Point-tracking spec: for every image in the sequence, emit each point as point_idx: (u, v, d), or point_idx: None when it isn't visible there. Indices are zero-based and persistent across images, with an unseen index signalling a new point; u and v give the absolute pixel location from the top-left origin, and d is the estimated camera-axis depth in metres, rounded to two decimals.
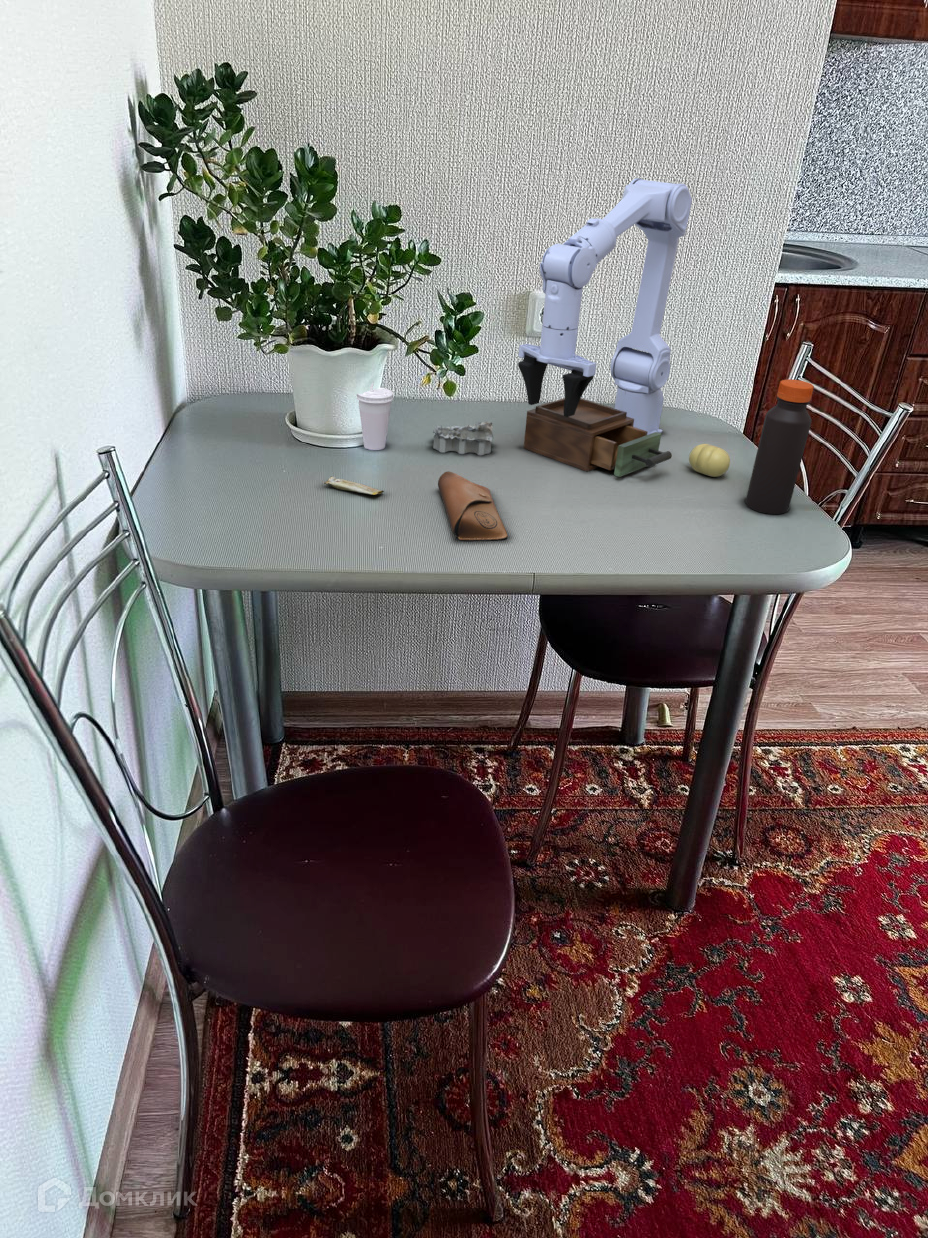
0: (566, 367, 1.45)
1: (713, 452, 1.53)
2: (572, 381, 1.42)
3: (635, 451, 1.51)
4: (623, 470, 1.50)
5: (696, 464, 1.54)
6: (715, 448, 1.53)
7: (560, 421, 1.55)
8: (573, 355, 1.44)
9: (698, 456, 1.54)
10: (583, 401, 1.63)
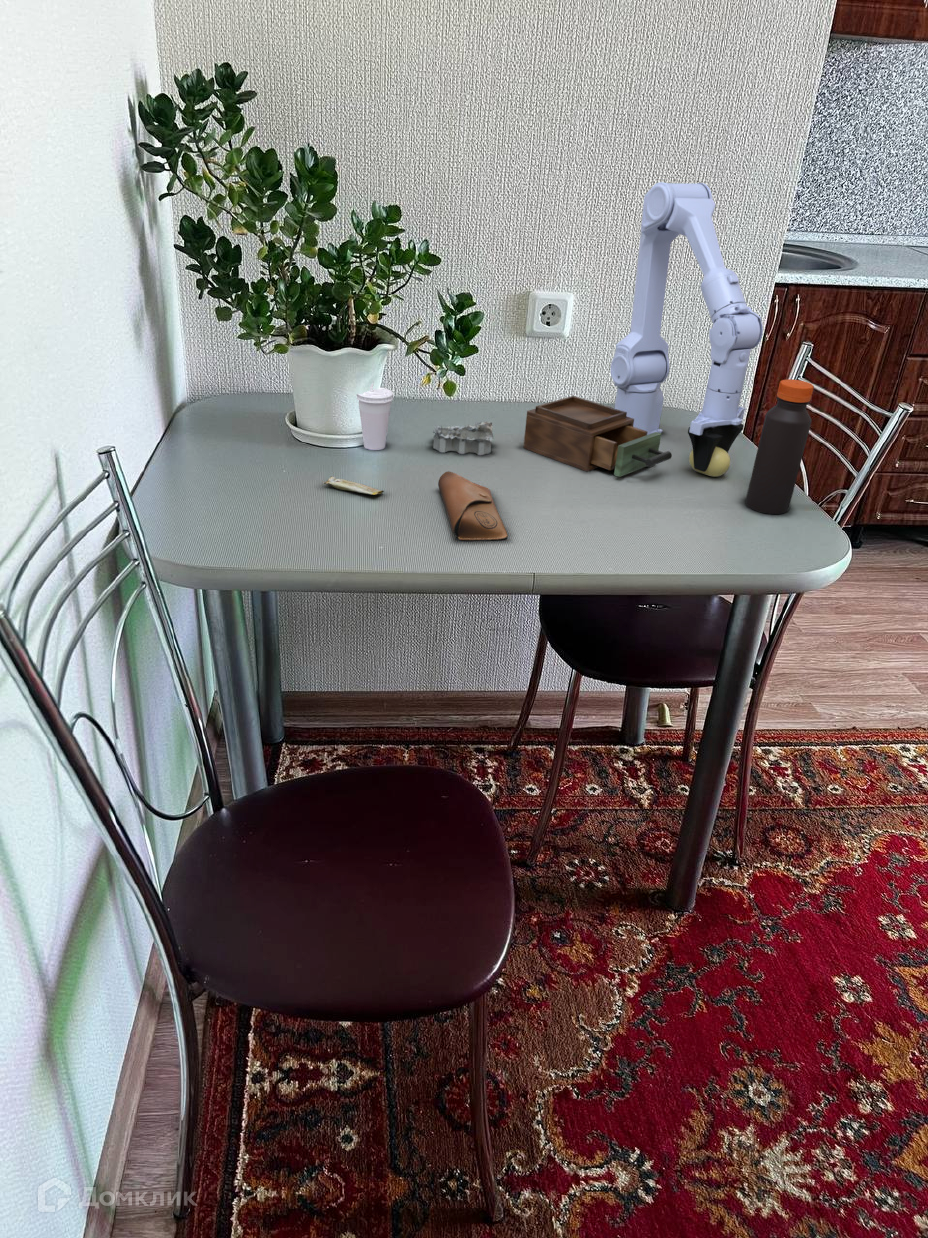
0: None
1: (713, 452, 1.53)
2: None
3: (635, 451, 1.51)
4: (623, 470, 1.50)
5: None
6: (715, 448, 1.53)
7: (560, 421, 1.55)
8: None
9: None
10: (583, 401, 1.63)
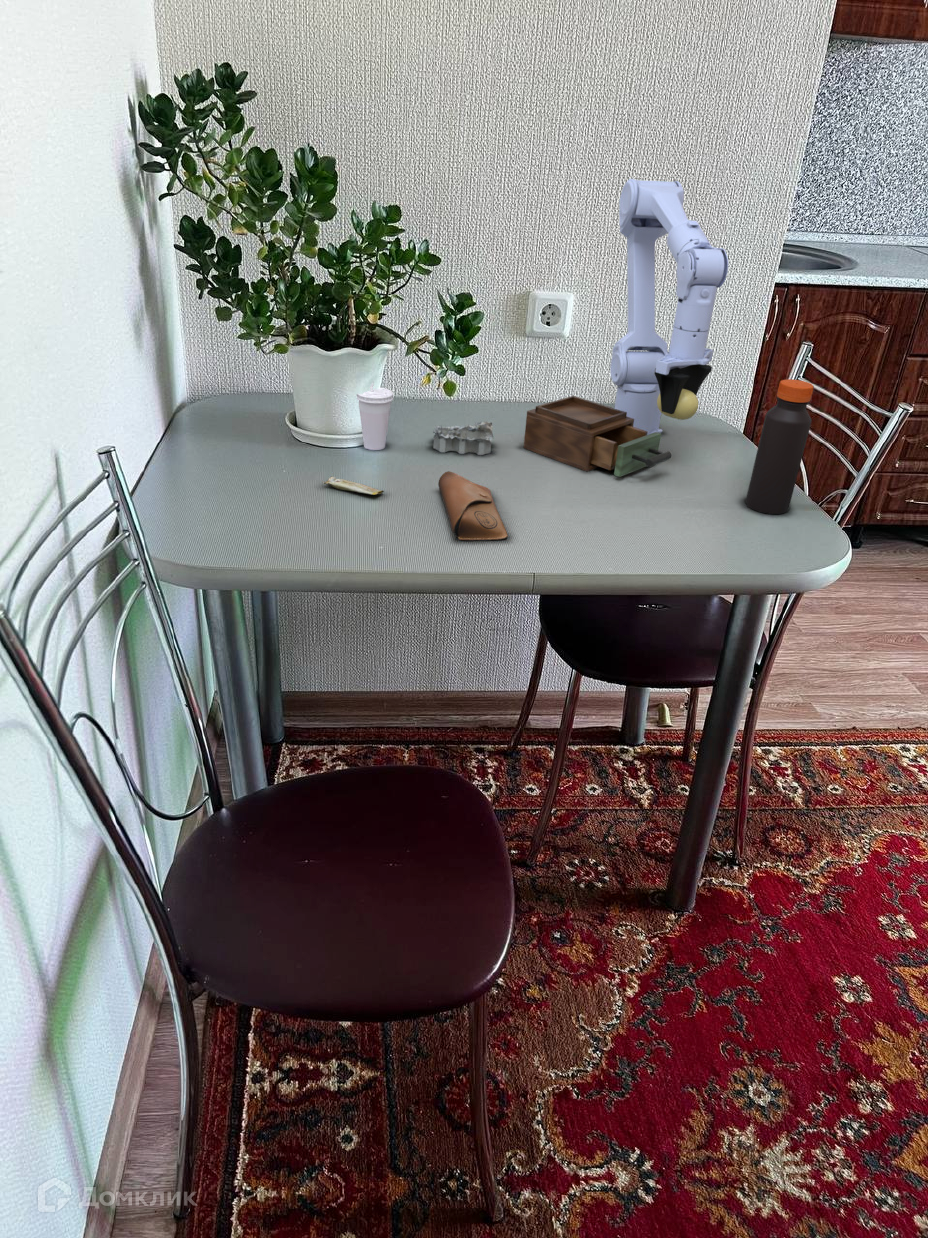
0: None
1: None
2: None
3: (635, 451, 1.51)
4: (623, 470, 1.50)
5: None
6: (683, 390, 1.50)
7: (560, 421, 1.55)
8: None
9: None
10: (583, 401, 1.63)
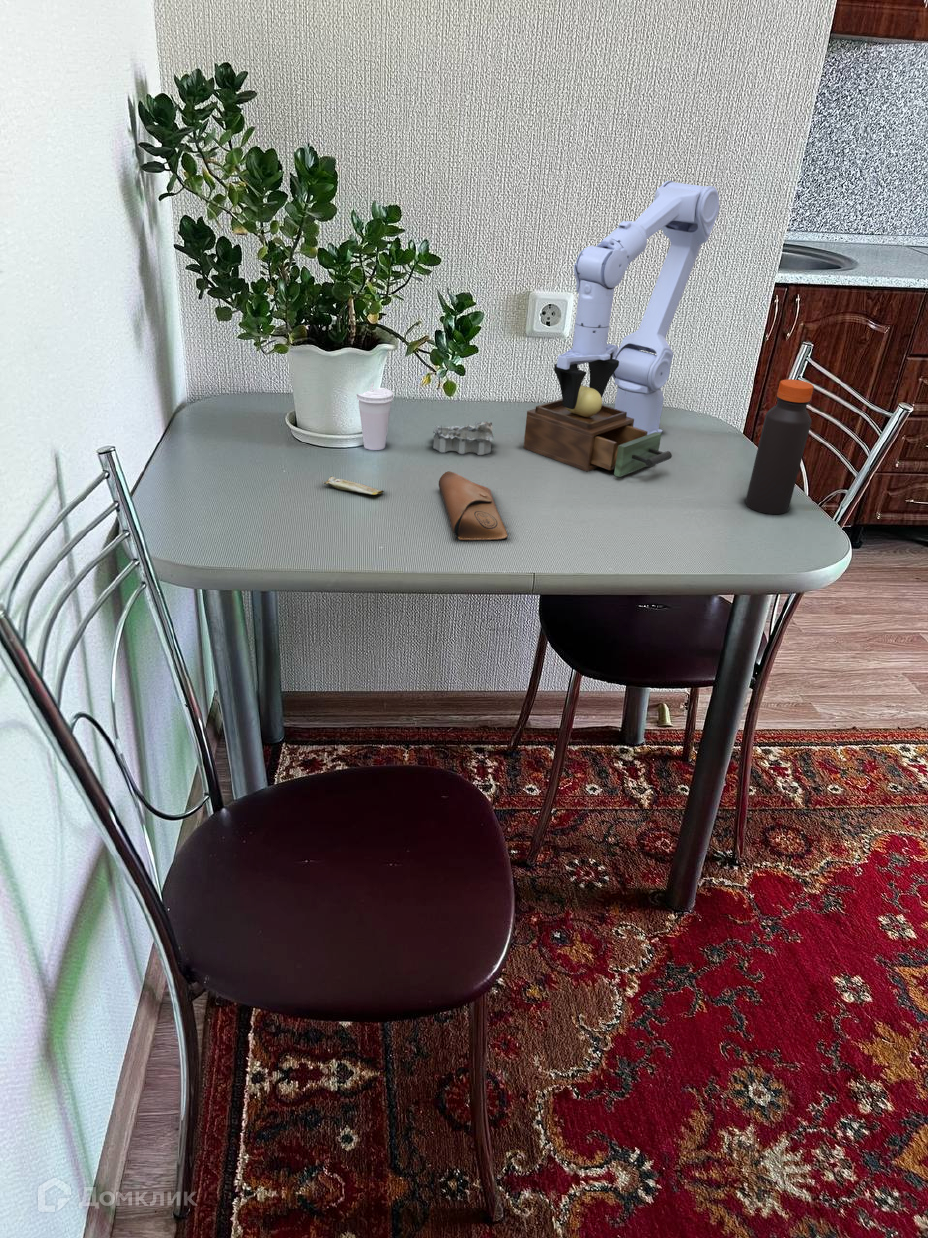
0: None
1: (584, 391, 1.55)
2: (618, 364, 1.56)
3: (635, 451, 1.51)
4: (623, 470, 1.50)
5: None
6: (587, 388, 1.55)
7: (560, 421, 1.55)
8: None
9: None
10: None
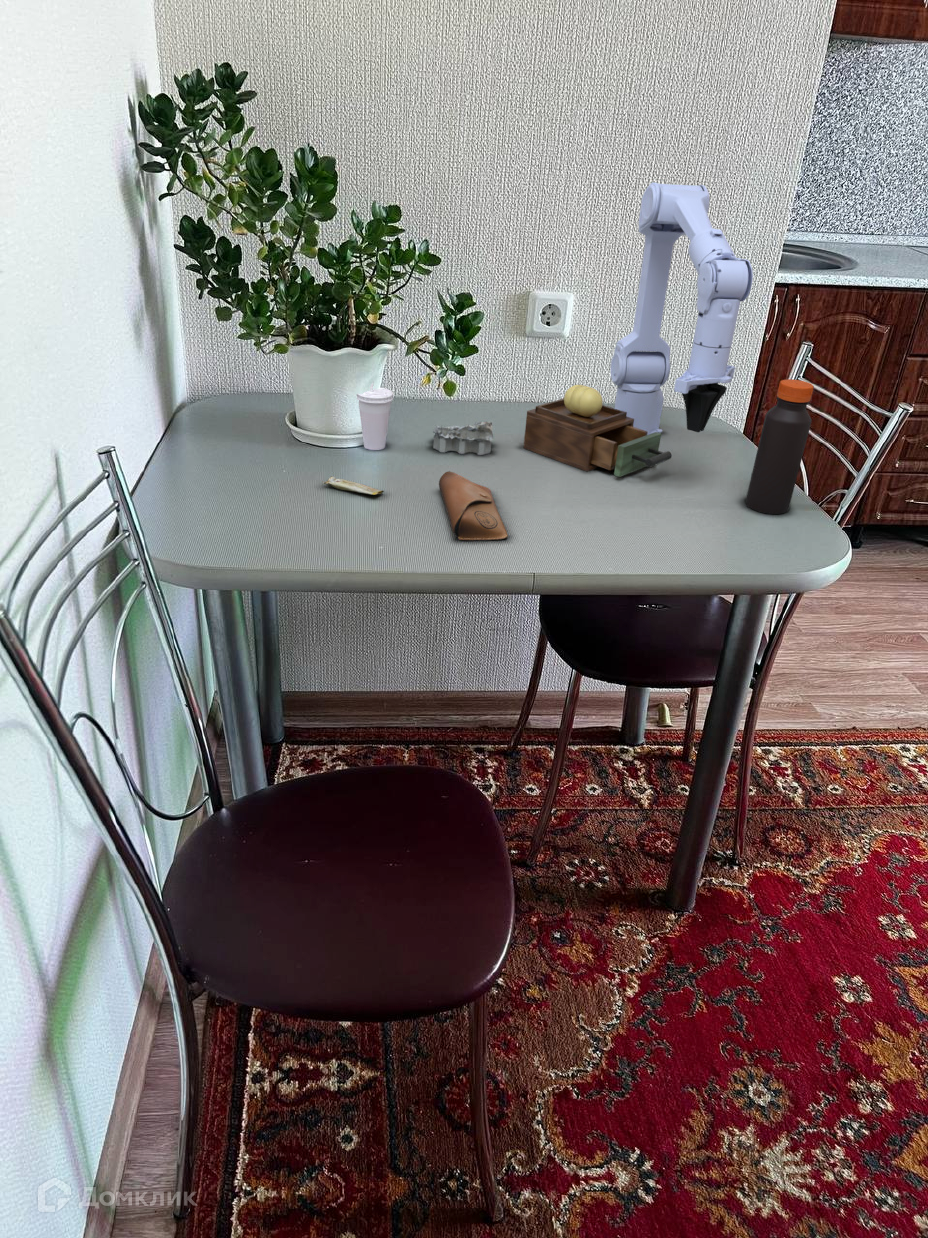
0: None
1: (585, 391, 1.55)
2: (725, 390, 1.41)
3: (635, 451, 1.51)
4: (623, 470, 1.50)
5: (569, 403, 1.57)
6: (588, 388, 1.55)
7: (560, 421, 1.55)
8: None
9: (571, 395, 1.56)
10: None
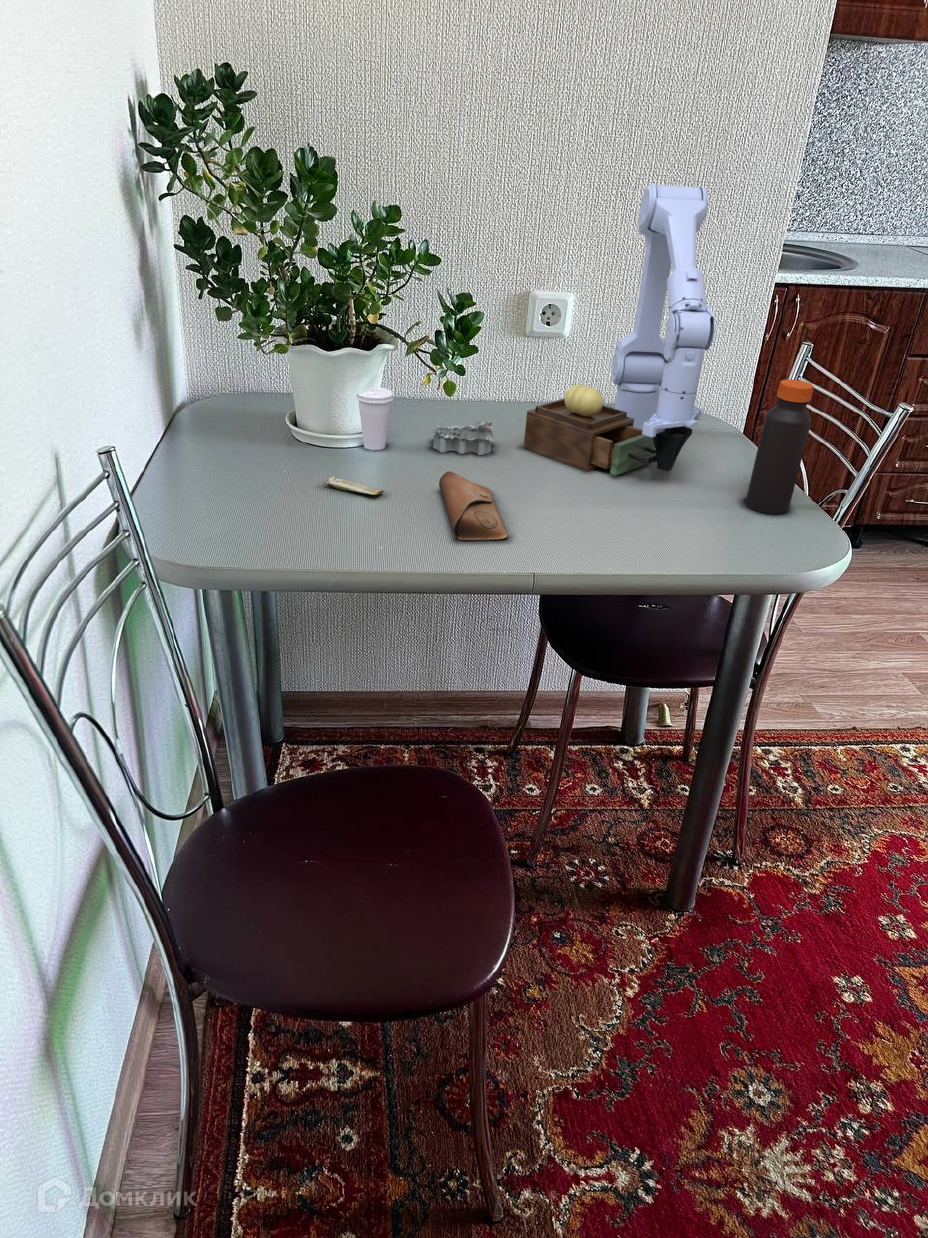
0: None
1: (586, 390, 1.55)
2: (691, 433, 1.47)
3: (631, 450, 1.51)
4: (619, 469, 1.51)
5: (570, 402, 1.57)
6: (589, 387, 1.56)
7: (560, 421, 1.55)
8: None
9: (572, 394, 1.56)
10: None
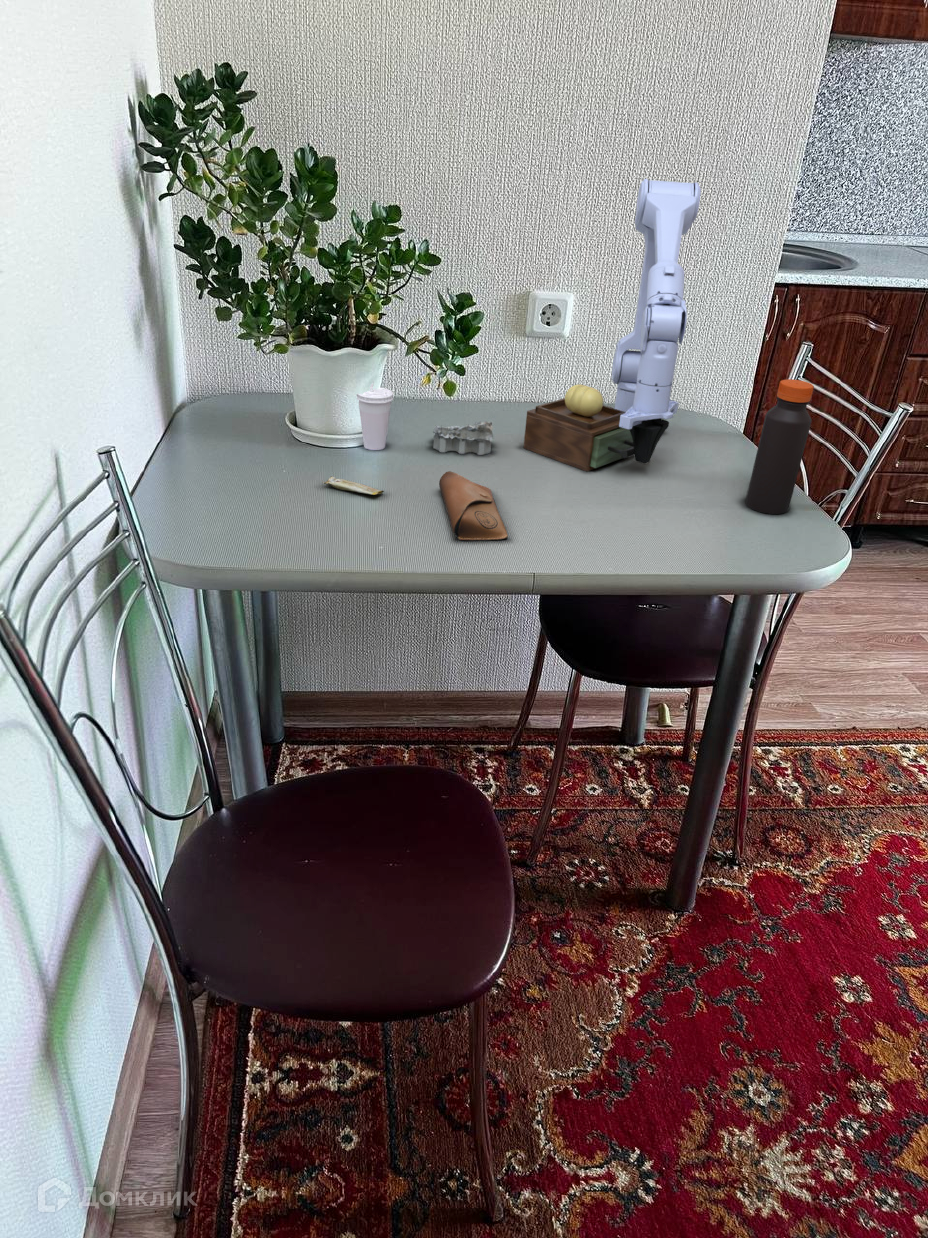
0: None
1: (586, 390, 1.55)
2: (668, 425, 1.50)
3: (610, 443, 1.54)
4: (599, 461, 1.53)
5: (570, 402, 1.57)
6: (589, 387, 1.56)
7: (560, 421, 1.55)
8: None
9: (572, 394, 1.56)
10: None
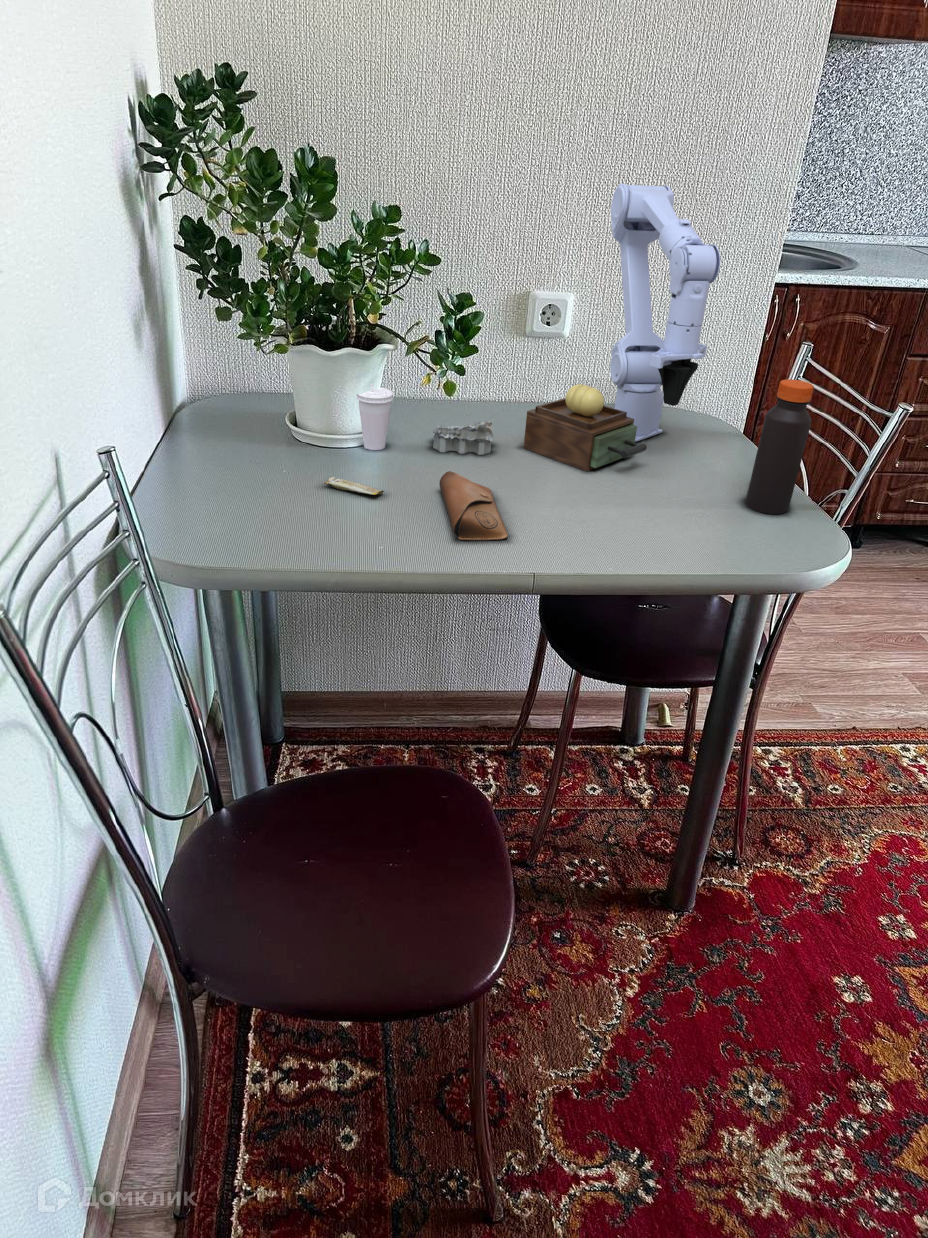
0: None
1: (588, 389, 1.55)
2: (697, 367, 1.52)
3: (610, 443, 1.54)
4: (599, 461, 1.53)
5: (571, 400, 1.57)
6: (590, 387, 1.56)
7: (560, 421, 1.55)
8: None
9: (573, 392, 1.56)
10: None
